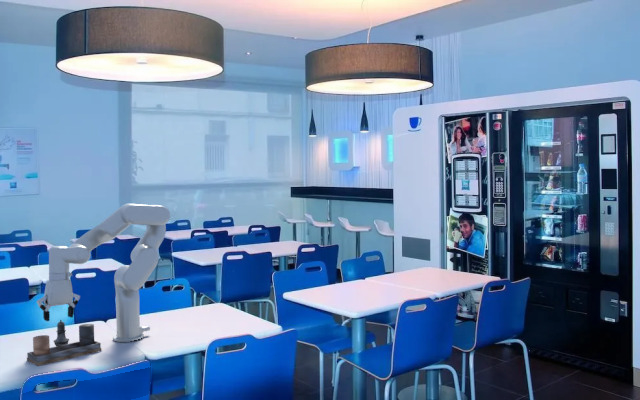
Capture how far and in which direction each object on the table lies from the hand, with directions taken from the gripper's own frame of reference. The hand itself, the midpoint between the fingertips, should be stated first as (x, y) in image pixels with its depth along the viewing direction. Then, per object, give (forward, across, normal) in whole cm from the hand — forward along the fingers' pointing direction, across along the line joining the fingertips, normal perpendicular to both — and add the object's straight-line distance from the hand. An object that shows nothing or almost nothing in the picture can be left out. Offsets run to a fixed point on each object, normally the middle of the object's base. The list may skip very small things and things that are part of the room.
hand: (58, 318), depth 245 cm
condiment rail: (+12, +2, +11) cm, 17 cm away
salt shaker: (+13, -1, 0) cm, 13 cm away
